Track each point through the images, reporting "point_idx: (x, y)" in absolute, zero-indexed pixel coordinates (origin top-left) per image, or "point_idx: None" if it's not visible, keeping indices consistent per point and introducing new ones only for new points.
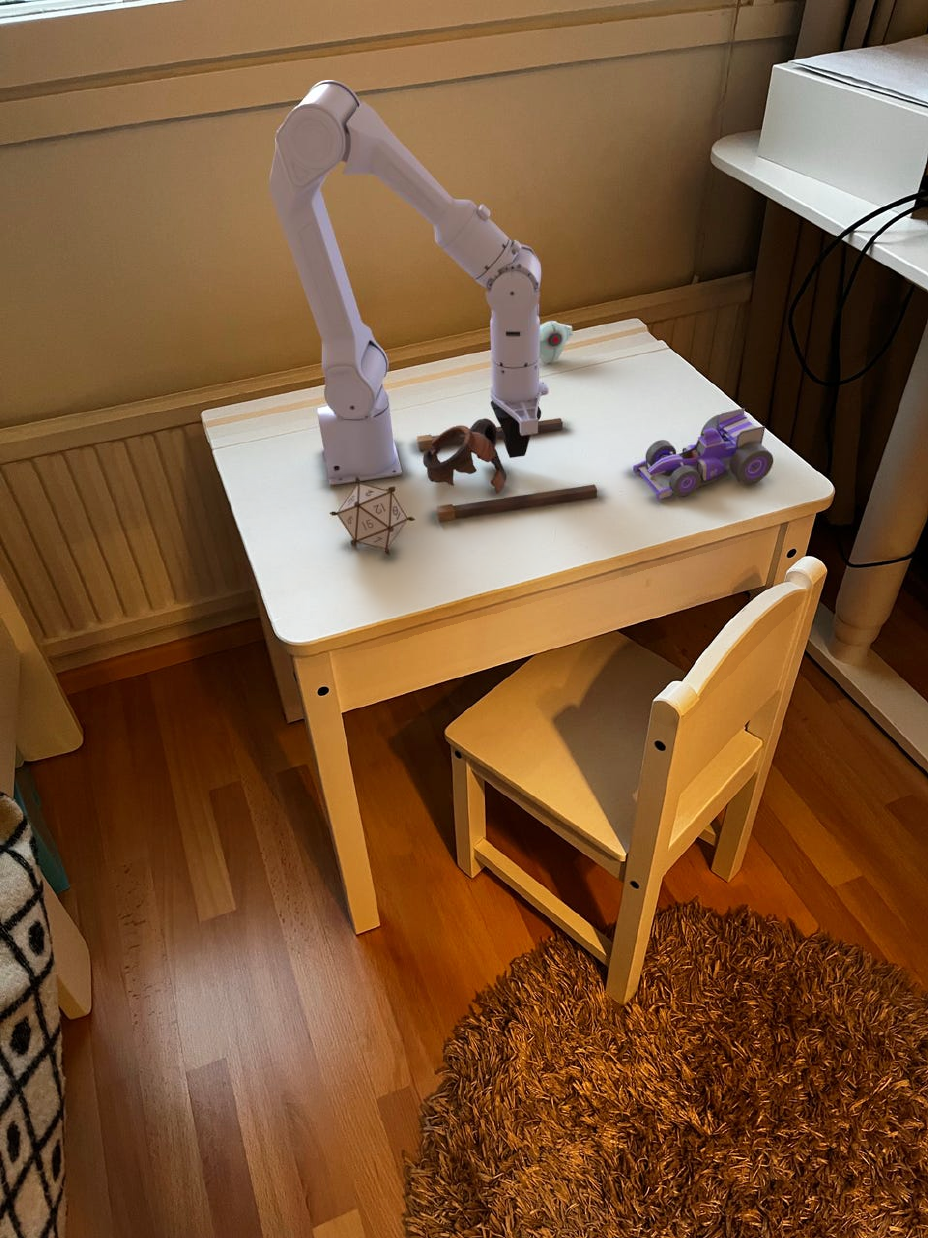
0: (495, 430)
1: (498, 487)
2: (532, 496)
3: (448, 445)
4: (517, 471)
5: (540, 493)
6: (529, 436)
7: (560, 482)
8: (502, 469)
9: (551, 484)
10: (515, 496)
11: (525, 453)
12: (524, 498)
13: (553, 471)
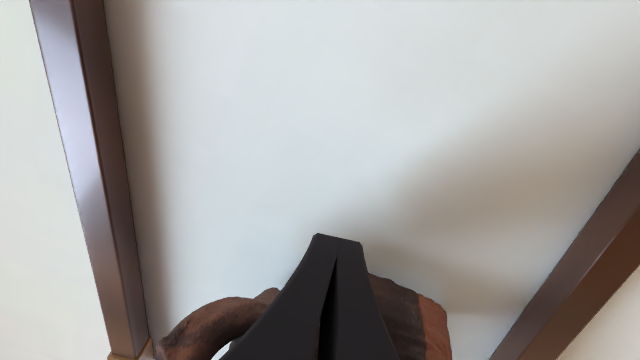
0: (209, 346)
1: (445, 328)
2: (595, 292)
3: (144, 311)
4: (356, 218)
5: (603, 263)
6: (388, 336)
7: (530, 113)
8: (412, 340)
9: (515, 153)
10: (545, 328)
11: (359, 246)
12: (581, 314)
13: (433, 101)
